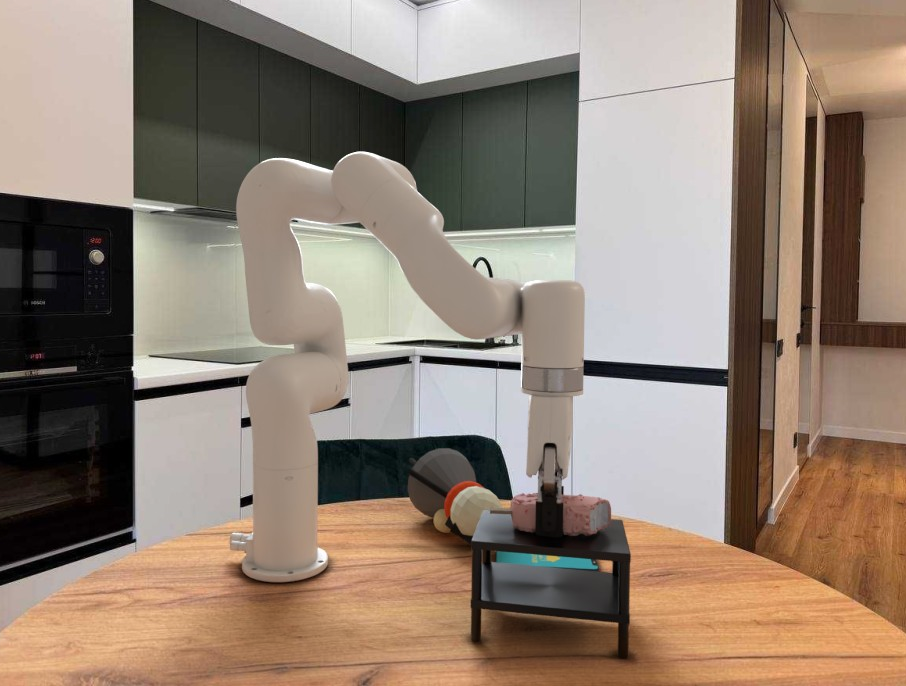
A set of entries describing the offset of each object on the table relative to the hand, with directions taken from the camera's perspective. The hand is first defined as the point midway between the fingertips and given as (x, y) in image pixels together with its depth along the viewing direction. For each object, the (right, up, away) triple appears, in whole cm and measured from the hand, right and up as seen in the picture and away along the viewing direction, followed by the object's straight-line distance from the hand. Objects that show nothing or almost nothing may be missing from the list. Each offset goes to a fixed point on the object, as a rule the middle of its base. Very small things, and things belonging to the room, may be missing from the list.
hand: (549, 524), depth 85 cm
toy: (-11, -12, +37) cm, 40 cm away
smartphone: (+3, -12, +20) cm, 24 cm away
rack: (0, -13, 0) cm, 13 cm away
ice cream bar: (0, -1, 0) cm, 1 cm away
